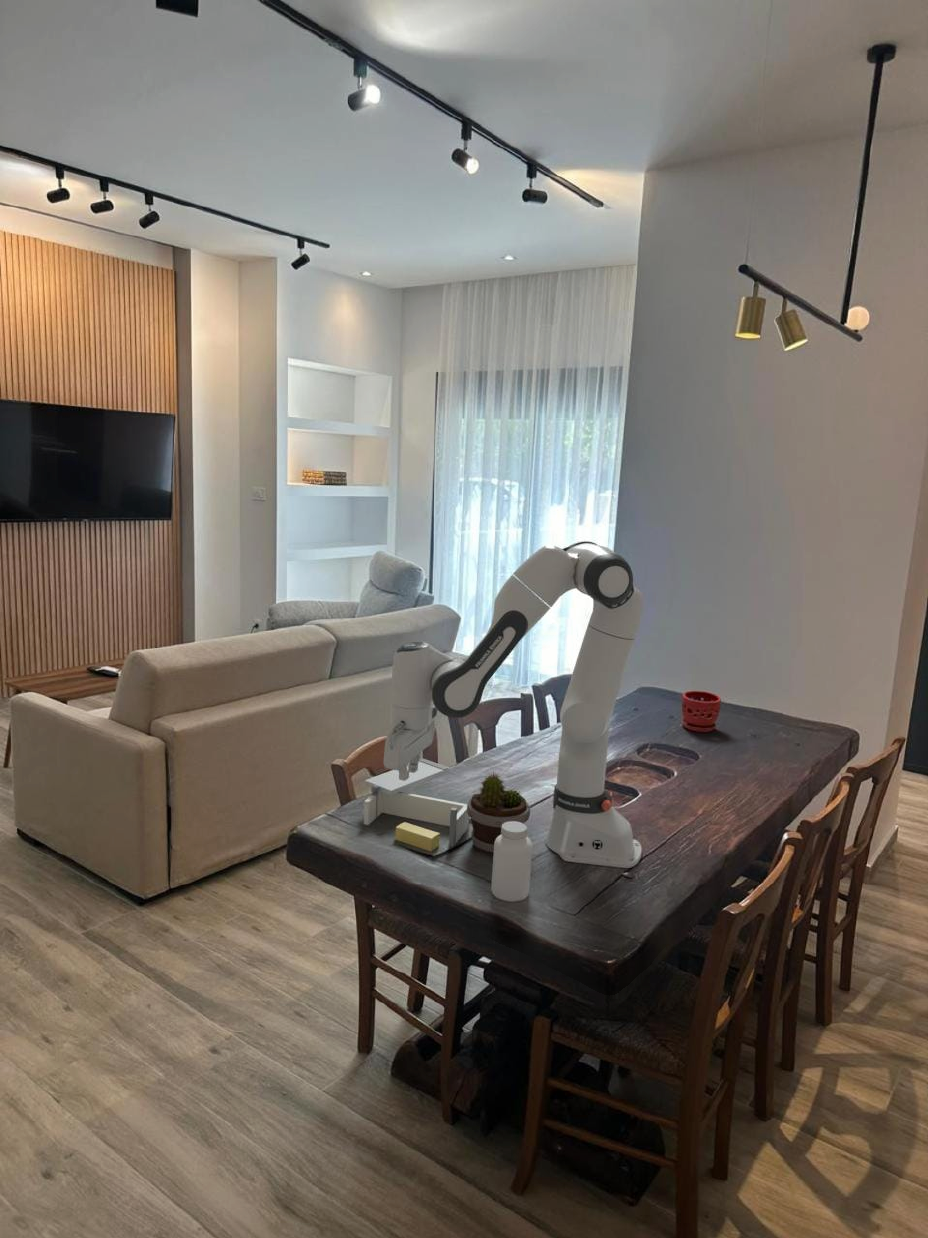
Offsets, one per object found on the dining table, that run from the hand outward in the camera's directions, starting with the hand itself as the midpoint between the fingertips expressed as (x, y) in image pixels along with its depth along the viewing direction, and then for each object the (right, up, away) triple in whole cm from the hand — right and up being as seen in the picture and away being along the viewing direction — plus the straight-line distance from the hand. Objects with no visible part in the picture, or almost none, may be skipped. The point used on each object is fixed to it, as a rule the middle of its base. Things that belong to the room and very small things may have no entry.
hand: (408, 775), depth 184 cm
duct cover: (-3, -6, +29) cm, 30 cm away
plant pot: (+95, -4, +107) cm, 143 cm away
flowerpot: (+20, -19, +10) cm, 29 cm away
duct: (+1, -16, +19) cm, 25 cm away
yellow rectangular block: (+1, -18, +10) cm, 21 cm away
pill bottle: (+22, -23, -10) cm, 33 cm away
